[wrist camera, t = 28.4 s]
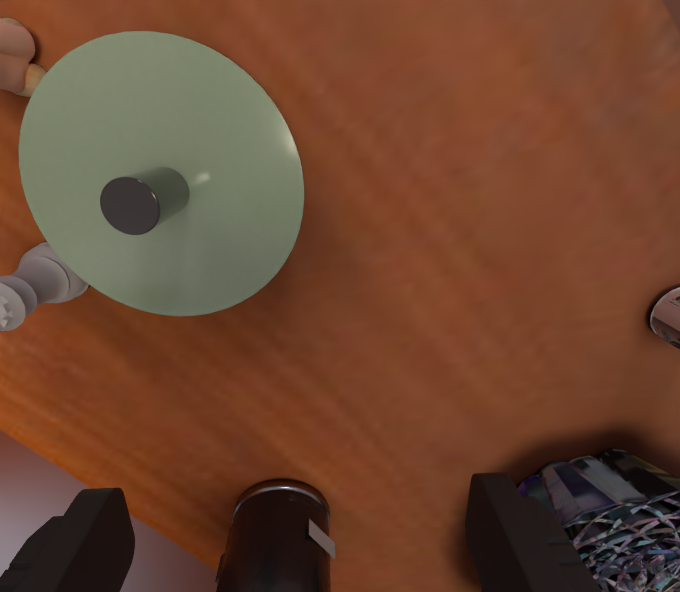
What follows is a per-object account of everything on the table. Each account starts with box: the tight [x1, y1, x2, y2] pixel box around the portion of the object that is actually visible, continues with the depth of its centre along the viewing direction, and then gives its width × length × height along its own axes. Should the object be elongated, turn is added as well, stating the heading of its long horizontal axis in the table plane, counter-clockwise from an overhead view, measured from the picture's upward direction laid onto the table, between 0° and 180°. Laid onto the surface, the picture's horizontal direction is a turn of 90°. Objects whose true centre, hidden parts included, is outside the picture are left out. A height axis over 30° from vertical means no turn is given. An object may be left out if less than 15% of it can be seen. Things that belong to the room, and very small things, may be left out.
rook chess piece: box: [0, 242, 89, 331], centre depth 28 cm, size 4×4×8 cm
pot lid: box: [18, 31, 305, 316], centre depth 22 cm, size 15×15×6 cm
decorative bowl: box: [482, 449, 680, 592], centre depth 40 cm, size 26×28×10 cm
